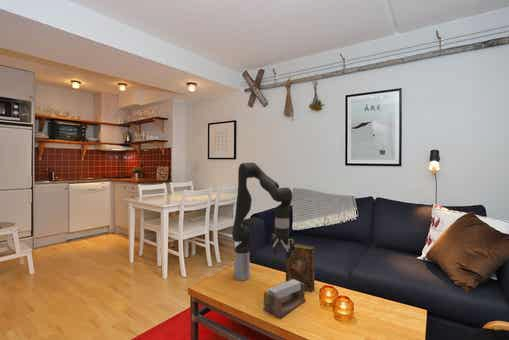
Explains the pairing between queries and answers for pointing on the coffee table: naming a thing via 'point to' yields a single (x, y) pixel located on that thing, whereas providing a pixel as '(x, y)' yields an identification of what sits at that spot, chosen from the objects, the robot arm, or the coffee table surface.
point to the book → (301, 265)
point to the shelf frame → (283, 302)
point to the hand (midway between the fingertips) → (281, 256)
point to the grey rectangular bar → (285, 288)
